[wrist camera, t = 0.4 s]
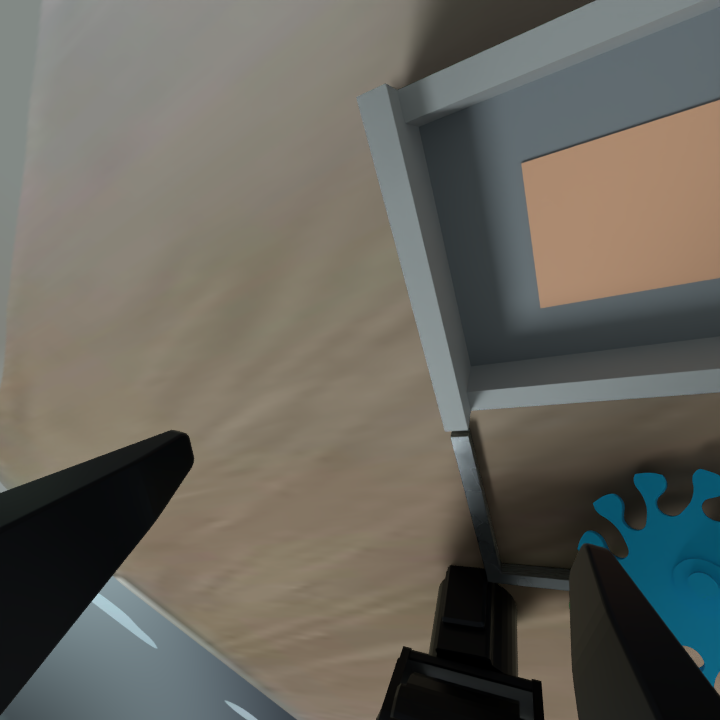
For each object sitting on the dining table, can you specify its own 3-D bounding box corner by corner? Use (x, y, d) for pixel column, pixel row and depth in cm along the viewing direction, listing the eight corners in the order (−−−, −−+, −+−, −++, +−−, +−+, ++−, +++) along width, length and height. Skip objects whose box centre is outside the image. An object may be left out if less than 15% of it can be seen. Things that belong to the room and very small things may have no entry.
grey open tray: (947, 320, 14) (1139, 394, 10) (448, 377, 21) (433, 432, 17) (1095, -189, 9) (1608, -485, 5) (383, 115, 16) (342, 103, 12)
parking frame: (878, 609, 19) (891, 625, 19) (488, 571, 27) (488, 582, 27) (943, 402, 15) (964, 413, 14) (452, 428, 23) (450, 437, 22)
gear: (773, 438, 16) (997, 751, 12) (760, 450, 21) (921, 684, 16) (525, 500, 22) (608, 727, 17) (555, 499, 26) (628, 682, 22)
